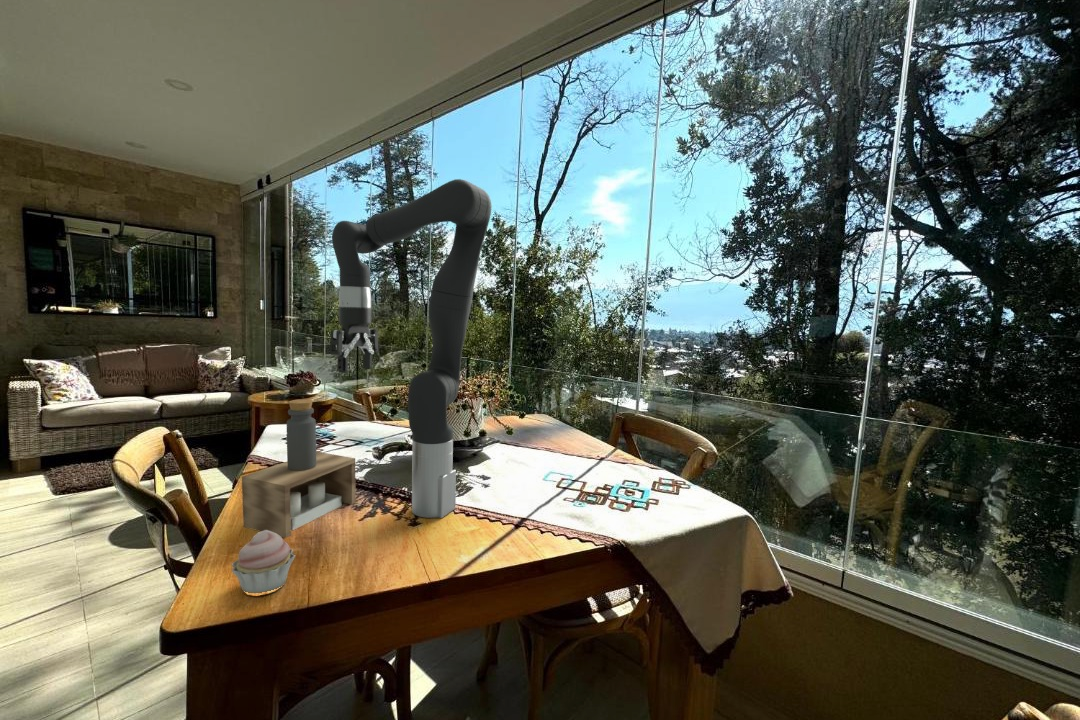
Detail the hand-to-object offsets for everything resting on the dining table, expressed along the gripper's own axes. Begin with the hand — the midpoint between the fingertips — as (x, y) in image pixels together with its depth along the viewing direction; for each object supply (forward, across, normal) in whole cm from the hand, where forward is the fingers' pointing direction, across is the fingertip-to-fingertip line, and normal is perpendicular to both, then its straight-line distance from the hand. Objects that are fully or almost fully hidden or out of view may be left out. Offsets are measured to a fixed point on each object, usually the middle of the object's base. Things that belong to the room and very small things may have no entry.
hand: (355, 370), depth 121 cm
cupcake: (+31, -40, -16) cm, 53 cm away
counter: (+31, -16, +1) cm, 35 cm away
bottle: (+20, -16, +1) cm, 26 cm away
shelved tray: (+31, -16, 0) cm, 35 cm away
